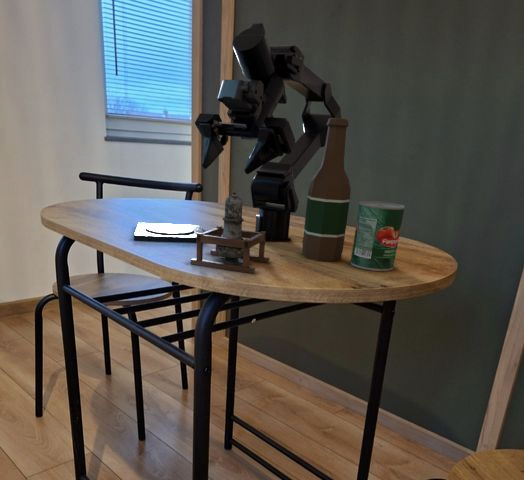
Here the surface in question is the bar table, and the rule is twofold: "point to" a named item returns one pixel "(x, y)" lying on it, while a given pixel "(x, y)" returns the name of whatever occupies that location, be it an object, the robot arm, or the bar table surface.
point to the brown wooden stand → (216, 238)
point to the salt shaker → (232, 231)
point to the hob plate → (167, 232)
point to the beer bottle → (328, 199)
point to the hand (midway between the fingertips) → (224, 169)
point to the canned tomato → (377, 235)
